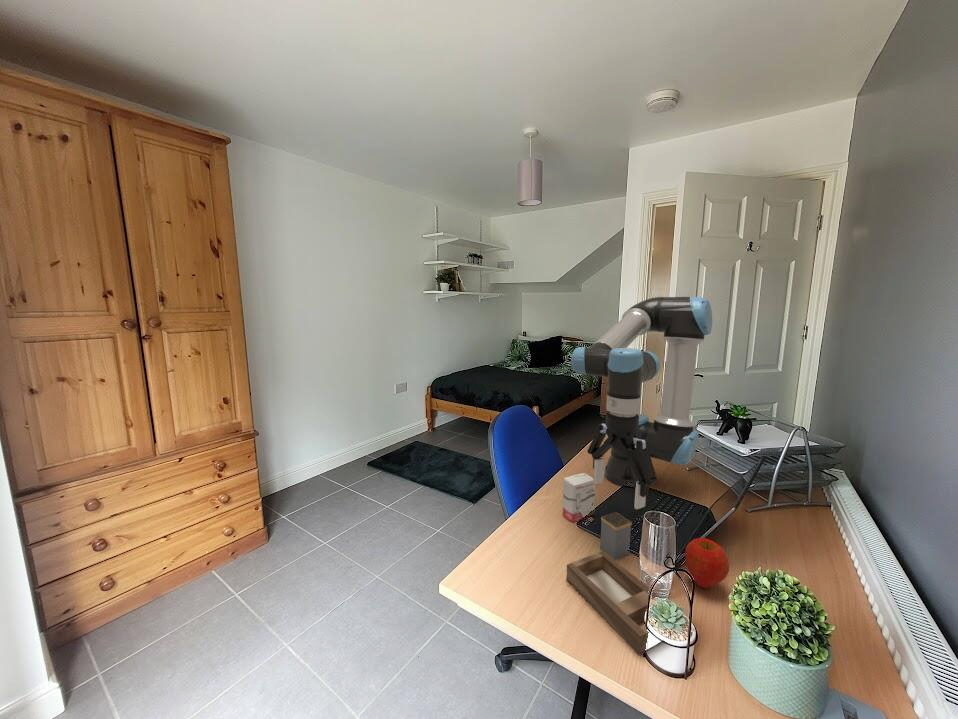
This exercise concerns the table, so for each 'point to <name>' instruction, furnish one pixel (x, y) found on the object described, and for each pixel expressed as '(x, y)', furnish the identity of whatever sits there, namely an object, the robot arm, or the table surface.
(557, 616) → the table surface
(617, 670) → the table surface
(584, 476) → the ink box
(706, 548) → the apple
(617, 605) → the block
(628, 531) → the square bit
